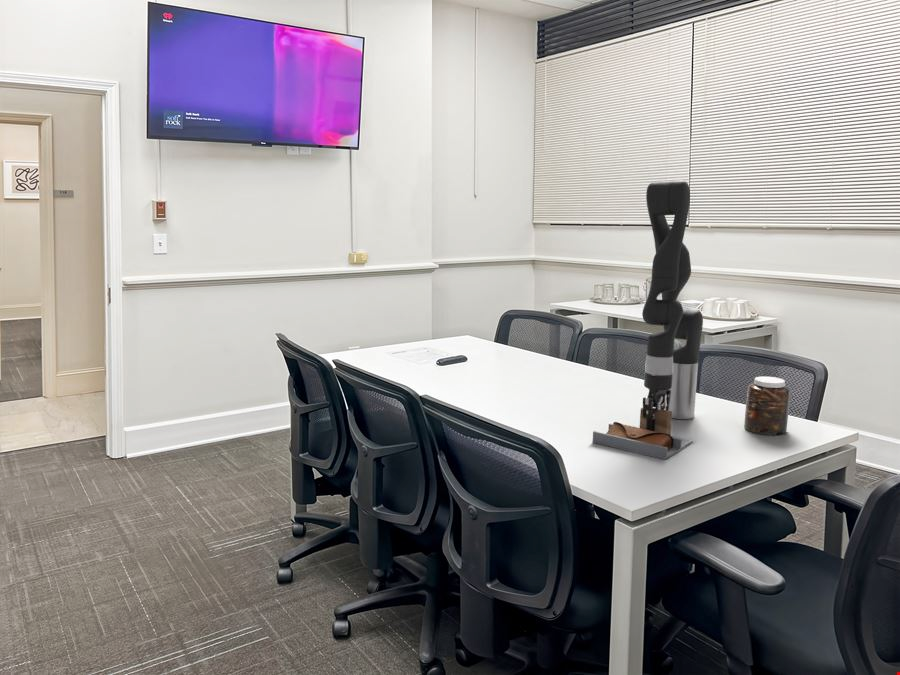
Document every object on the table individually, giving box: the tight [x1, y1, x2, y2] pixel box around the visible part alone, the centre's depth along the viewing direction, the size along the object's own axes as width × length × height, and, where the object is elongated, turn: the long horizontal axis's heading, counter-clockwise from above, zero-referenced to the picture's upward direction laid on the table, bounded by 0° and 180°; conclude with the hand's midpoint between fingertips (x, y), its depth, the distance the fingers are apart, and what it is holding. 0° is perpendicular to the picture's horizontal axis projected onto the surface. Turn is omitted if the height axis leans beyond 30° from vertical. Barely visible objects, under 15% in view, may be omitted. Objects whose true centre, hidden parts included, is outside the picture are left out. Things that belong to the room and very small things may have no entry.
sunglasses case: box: [605, 421, 674, 451], centre depth 200 cm, size 18×7×7 cm, turn 51°
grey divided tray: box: [592, 407, 694, 460], centre depth 203 cm, size 18×21×8 cm
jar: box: [743, 376, 791, 436], centre depth 216 cm, size 12×12×15 cm
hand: (655, 429), depth 209 cm, fingers open, 6 cm apart
